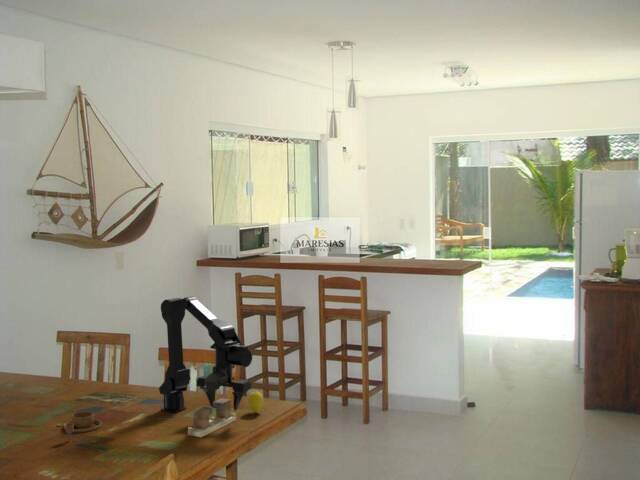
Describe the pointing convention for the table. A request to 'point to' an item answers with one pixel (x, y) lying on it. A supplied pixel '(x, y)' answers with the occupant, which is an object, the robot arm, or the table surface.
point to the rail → (216, 425)
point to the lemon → (255, 401)
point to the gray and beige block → (223, 408)
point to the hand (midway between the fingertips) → (223, 408)
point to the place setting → (80, 423)
